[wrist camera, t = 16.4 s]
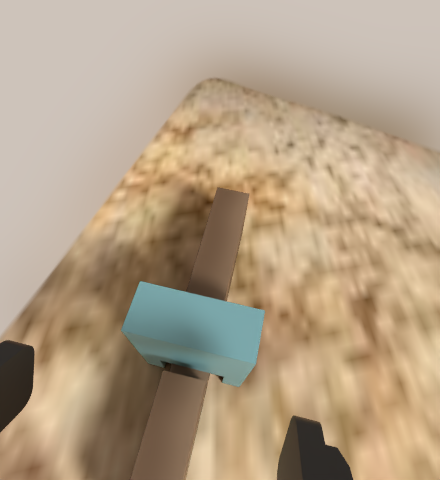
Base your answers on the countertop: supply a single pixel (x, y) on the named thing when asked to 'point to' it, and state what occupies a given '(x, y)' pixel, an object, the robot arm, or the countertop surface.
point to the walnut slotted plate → (183, 378)
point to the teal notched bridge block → (194, 331)
